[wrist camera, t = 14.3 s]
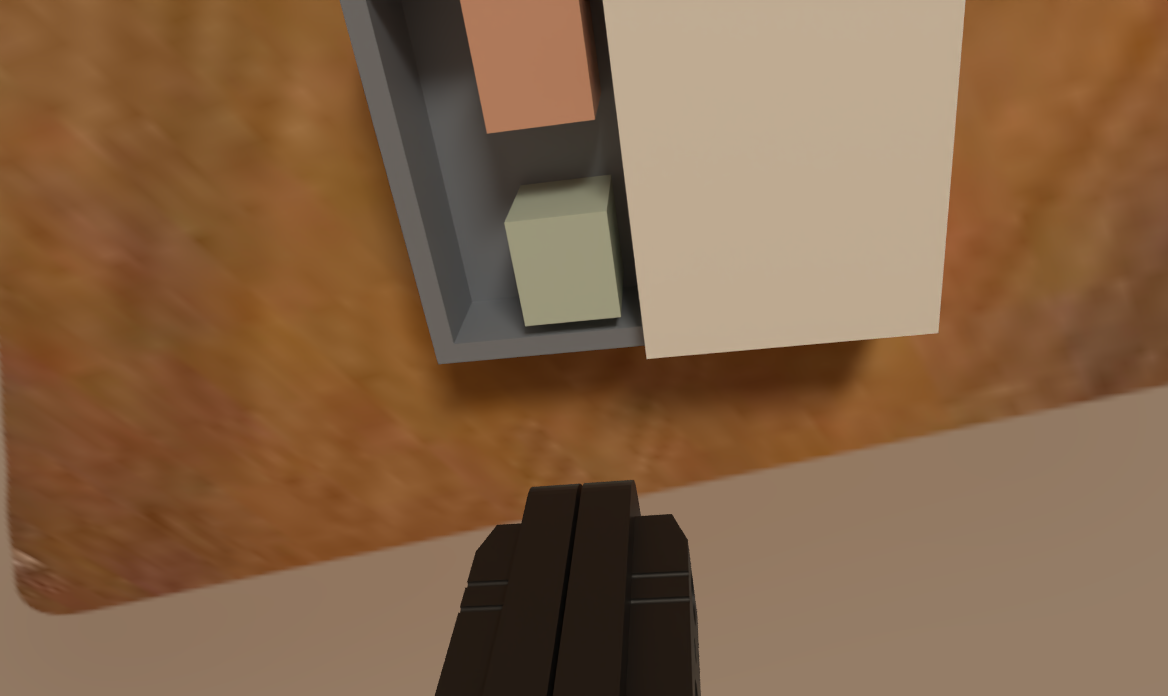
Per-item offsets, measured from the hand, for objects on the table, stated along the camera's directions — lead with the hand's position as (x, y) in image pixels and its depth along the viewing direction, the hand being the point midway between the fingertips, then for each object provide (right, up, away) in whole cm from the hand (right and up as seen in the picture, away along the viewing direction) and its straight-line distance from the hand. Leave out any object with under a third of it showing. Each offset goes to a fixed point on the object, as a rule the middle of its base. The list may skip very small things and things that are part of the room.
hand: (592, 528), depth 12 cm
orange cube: (0, +13, +14) cm, 19 cm away
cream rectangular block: (+6, +11, +17) cm, 21 cm away
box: (-2, +10, +18) cm, 21 cm away
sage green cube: (+1, +6, +18) cm, 19 cm away
